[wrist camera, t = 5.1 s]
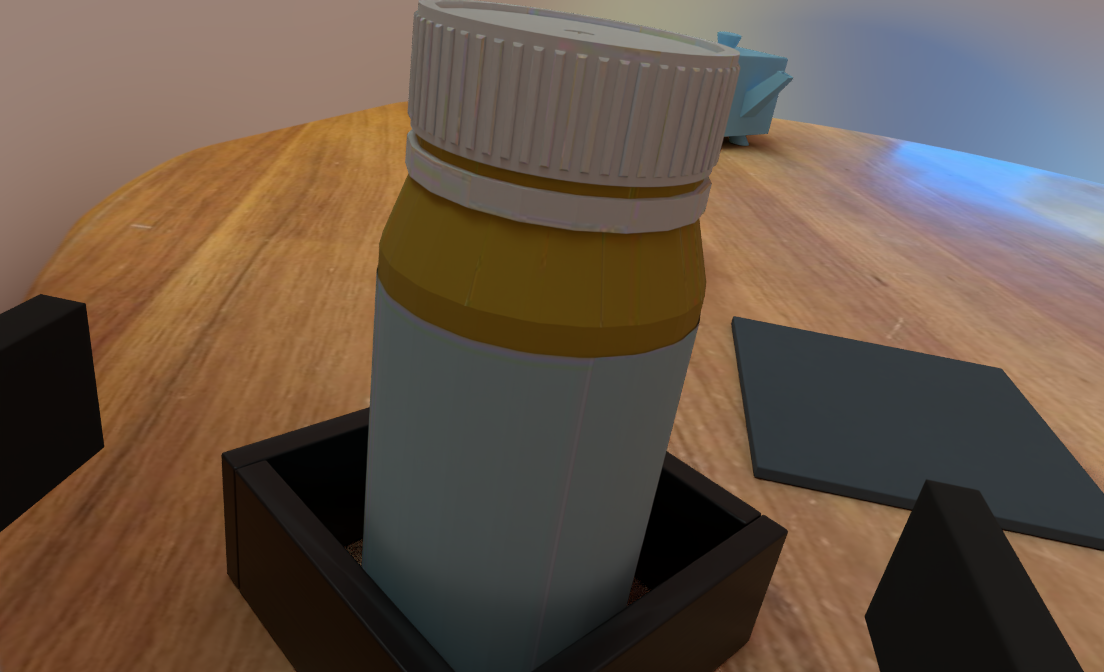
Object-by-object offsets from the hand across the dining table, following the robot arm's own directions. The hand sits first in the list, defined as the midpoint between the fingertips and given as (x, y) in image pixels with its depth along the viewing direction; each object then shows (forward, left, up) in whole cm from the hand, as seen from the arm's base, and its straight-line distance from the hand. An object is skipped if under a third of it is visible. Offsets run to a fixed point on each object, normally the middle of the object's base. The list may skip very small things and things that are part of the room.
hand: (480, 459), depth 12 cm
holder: (0, +6, -9) cm, 11 cm away
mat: (+15, +22, -9) cm, 28 cm away
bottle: (0, +6, -9) cm, 11 cm away
